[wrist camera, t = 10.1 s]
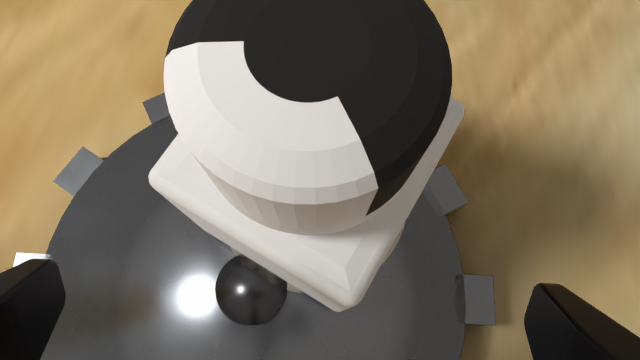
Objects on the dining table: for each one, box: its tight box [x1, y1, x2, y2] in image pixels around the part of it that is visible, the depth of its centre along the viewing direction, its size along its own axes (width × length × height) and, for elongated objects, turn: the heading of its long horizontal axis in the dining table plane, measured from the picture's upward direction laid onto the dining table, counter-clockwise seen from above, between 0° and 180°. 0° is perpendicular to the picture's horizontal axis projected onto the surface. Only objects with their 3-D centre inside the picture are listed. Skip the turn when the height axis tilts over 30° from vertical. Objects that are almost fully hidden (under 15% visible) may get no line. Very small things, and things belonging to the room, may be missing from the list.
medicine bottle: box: [148, 0, 465, 312], centre depth 15 cm, size 7×7×12 cm
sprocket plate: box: [13, 93, 496, 360], centre depth 20 cm, size 20×20×2 cm
